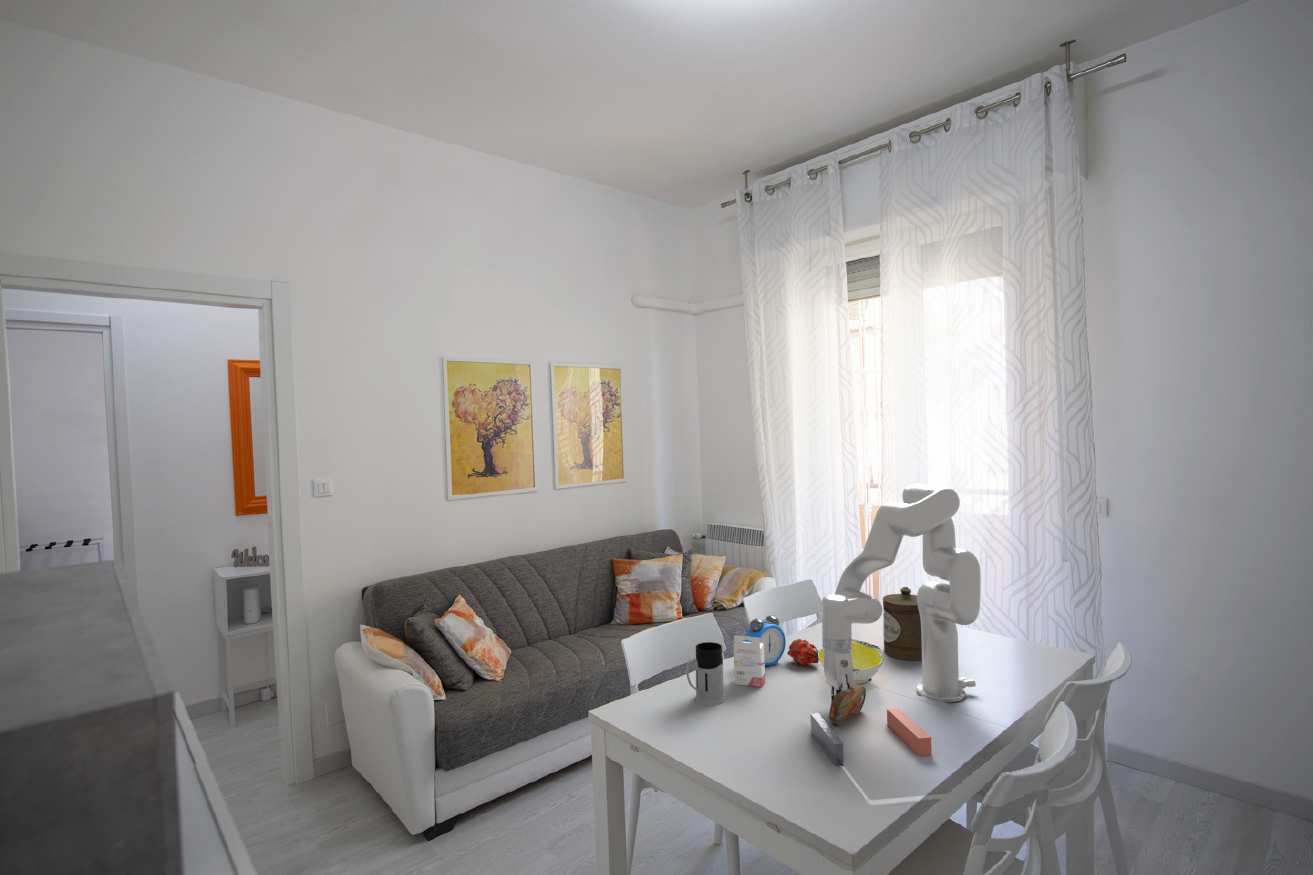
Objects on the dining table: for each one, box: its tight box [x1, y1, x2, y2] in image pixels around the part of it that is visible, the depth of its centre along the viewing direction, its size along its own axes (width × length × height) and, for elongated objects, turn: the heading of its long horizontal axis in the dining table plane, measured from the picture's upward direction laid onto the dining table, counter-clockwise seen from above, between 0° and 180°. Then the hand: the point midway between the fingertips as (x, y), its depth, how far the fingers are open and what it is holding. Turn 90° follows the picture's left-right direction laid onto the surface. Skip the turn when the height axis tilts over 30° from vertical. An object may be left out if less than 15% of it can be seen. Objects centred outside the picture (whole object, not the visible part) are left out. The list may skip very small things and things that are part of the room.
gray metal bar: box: [810, 712, 845, 767], centre depth 156 cm, size 2×16×5 cm, turn 6°
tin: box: [828, 682, 867, 727], centre depth 170 cm, size 15×3×8 cm, turn 135°
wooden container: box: [882, 586, 922, 661], centre depth 219 cm, size 15×15×22 cm
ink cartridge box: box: [732, 634, 766, 688], centre depth 197 cm, size 9×5×15 cm, turn 68°
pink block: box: [886, 707, 933, 757], centre depth 158 cm, size 3×16×4 cm, turn 6°
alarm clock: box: [743, 615, 787, 667], centre depth 212 cm, size 13×6×15 cm, turn 122°
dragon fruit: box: [786, 638, 820, 668], centre depth 211 cm, size 8×8×12 cm
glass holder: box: [685, 641, 726, 706], centre depth 184 cm, size 9×14×15 cm, turn 137°
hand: (838, 710), depth 174 cm, fingers closed
